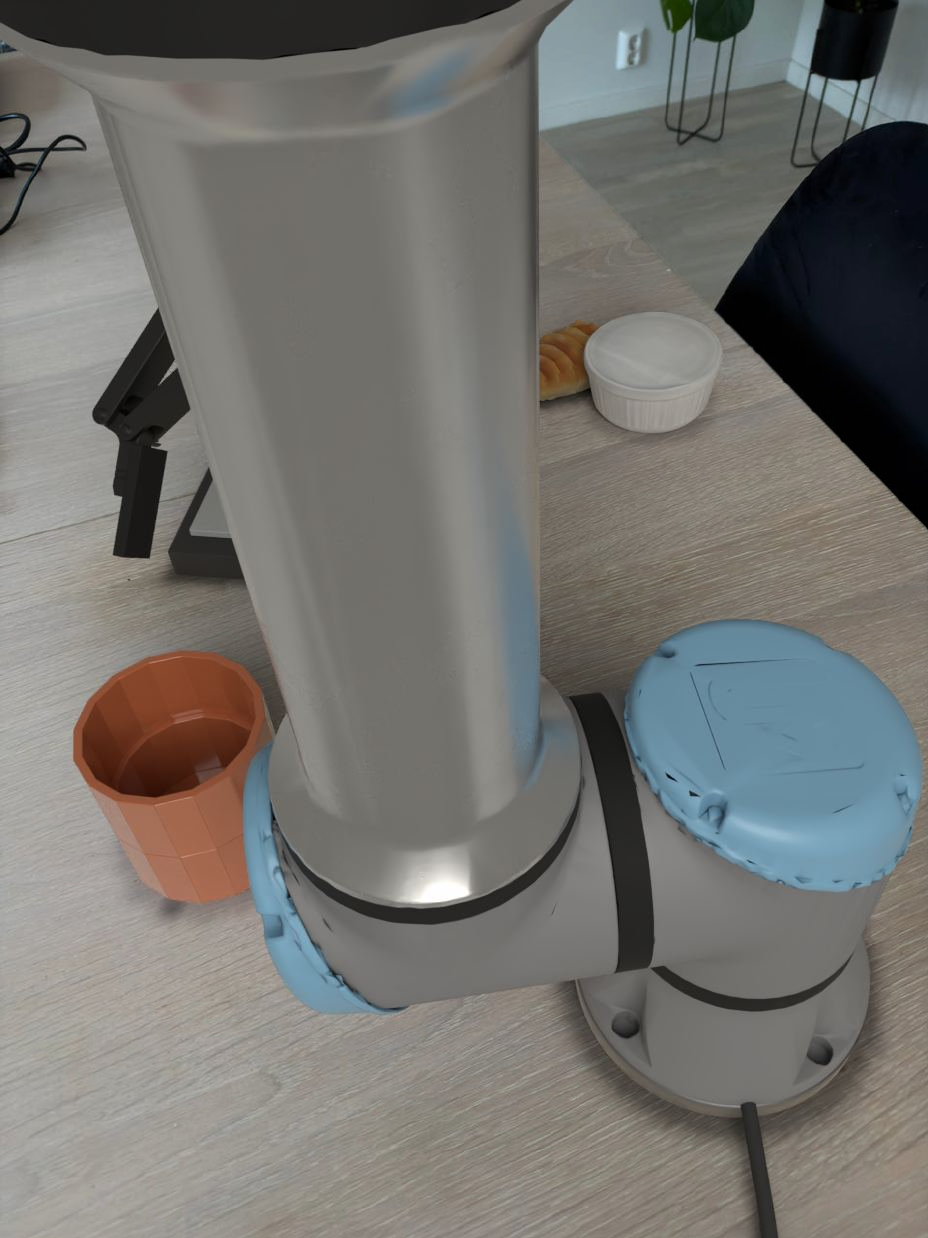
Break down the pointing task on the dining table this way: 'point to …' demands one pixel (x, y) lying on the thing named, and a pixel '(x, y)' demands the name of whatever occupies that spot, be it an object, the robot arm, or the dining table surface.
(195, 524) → the scale
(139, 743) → the orange faceted hollow container
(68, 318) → the dining table surface
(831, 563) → the dining table surface
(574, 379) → the pastry
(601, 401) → the ramekin
